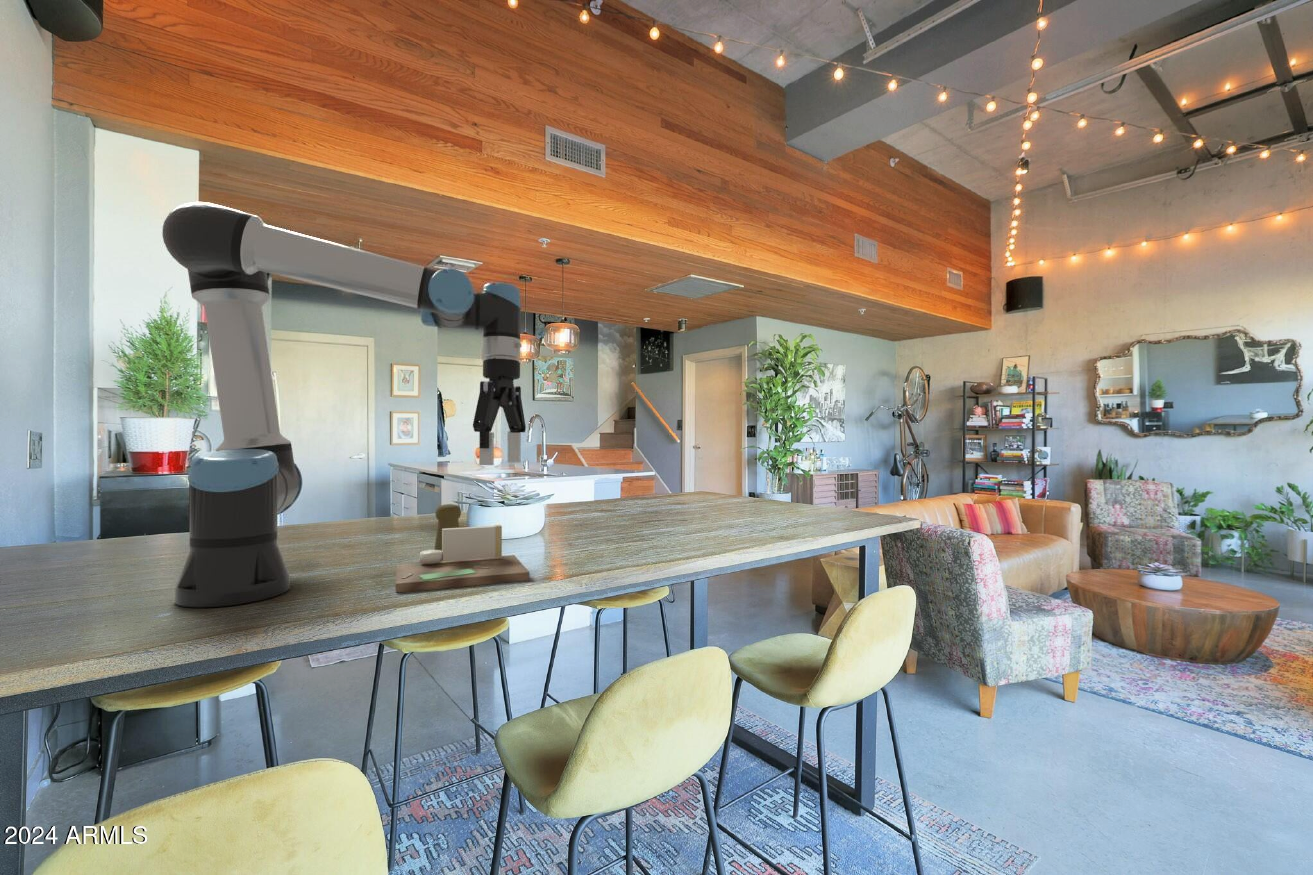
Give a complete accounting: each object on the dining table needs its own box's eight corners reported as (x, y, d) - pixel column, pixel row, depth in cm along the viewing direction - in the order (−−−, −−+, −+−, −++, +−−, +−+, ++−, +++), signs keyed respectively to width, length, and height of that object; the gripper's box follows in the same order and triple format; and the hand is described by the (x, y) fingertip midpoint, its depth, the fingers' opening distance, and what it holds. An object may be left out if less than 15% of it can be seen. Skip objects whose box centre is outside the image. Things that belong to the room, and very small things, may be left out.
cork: (453, 558, 124) (453, 506, 124) (427, 557, 125) (427, 505, 125) (468, 553, 130) (468, 503, 130) (443, 551, 131) (443, 502, 131)
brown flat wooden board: (395, 592, 97) (395, 582, 97) (396, 571, 112) (397, 563, 112) (529, 580, 106) (529, 571, 106) (514, 562, 121) (514, 554, 121)
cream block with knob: (420, 564, 109) (420, 531, 109) (419, 560, 113) (419, 528, 113) (502, 557, 115) (502, 526, 115) (499, 554, 119) (499, 524, 119)
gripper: (490, 351, 110) (489, 466, 110) (541, 366, 133) (540, 461, 134) (454, 351, 111) (453, 466, 112) (510, 366, 135) (509, 461, 135)
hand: (500, 463), depth 123 cm, fingers open, 12 cm apart
